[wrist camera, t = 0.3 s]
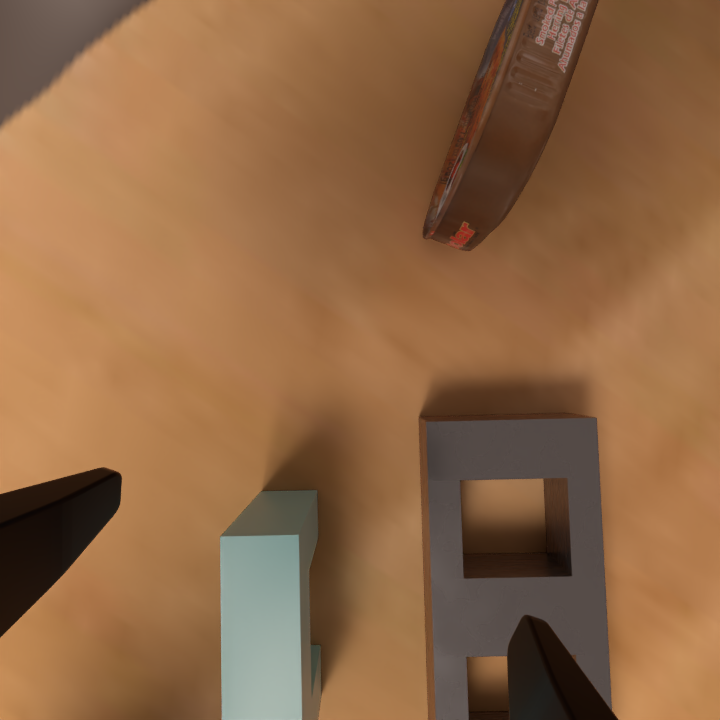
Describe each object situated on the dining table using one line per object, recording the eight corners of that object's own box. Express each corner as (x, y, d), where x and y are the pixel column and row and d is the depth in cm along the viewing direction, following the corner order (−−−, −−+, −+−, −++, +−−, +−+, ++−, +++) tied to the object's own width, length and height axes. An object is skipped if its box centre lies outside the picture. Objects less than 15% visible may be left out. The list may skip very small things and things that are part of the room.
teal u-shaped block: (321, 694, 20) (304, 825, 14) (264, 695, 21) (222, 826, 15) (317, 490, 21) (298, 534, 15) (261, 491, 21) (220, 536, 15)
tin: (499, 10, 22) (582, -216, 14) (552, 28, 22) (669, -188, 14) (409, 259, 22) (438, 183, 13) (463, 278, 21) (528, 214, 13)
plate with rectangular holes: (586, 766, 20) (617, 820, 18) (429, 768, 20) (439, 823, 18) (568, 413, 21) (596, 417, 18) (418, 416, 21) (425, 421, 19)
